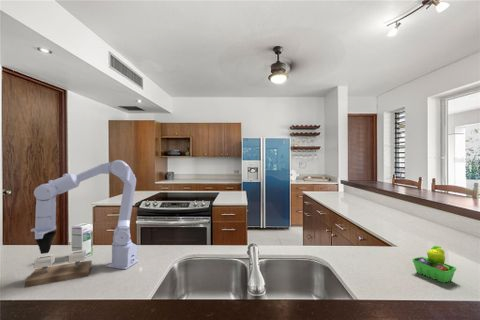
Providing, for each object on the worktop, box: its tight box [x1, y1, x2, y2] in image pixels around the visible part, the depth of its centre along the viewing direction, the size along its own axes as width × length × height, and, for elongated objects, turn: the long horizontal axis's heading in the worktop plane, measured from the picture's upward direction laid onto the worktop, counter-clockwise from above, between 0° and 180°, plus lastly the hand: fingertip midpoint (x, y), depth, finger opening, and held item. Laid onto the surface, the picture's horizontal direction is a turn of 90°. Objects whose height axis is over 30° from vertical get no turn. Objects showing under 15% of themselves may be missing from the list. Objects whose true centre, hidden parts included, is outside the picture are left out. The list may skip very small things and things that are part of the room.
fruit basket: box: [411, 245, 457, 284], centre depth 86 cm, size 11×9×11 cm
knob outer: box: [34, 253, 56, 269], centre depth 82 cm, size 5×5×3 cm
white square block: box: [68, 250, 87, 264], centre depth 87 cm, size 5×5×3 cm
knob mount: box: [24, 260, 93, 288], centre depth 85 cm, size 18×10×4 cm, turn 117°
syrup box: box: [71, 222, 94, 258], centre depth 102 cm, size 6×6×14 cm
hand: (45, 252), depth 82 cm, fingers closed
